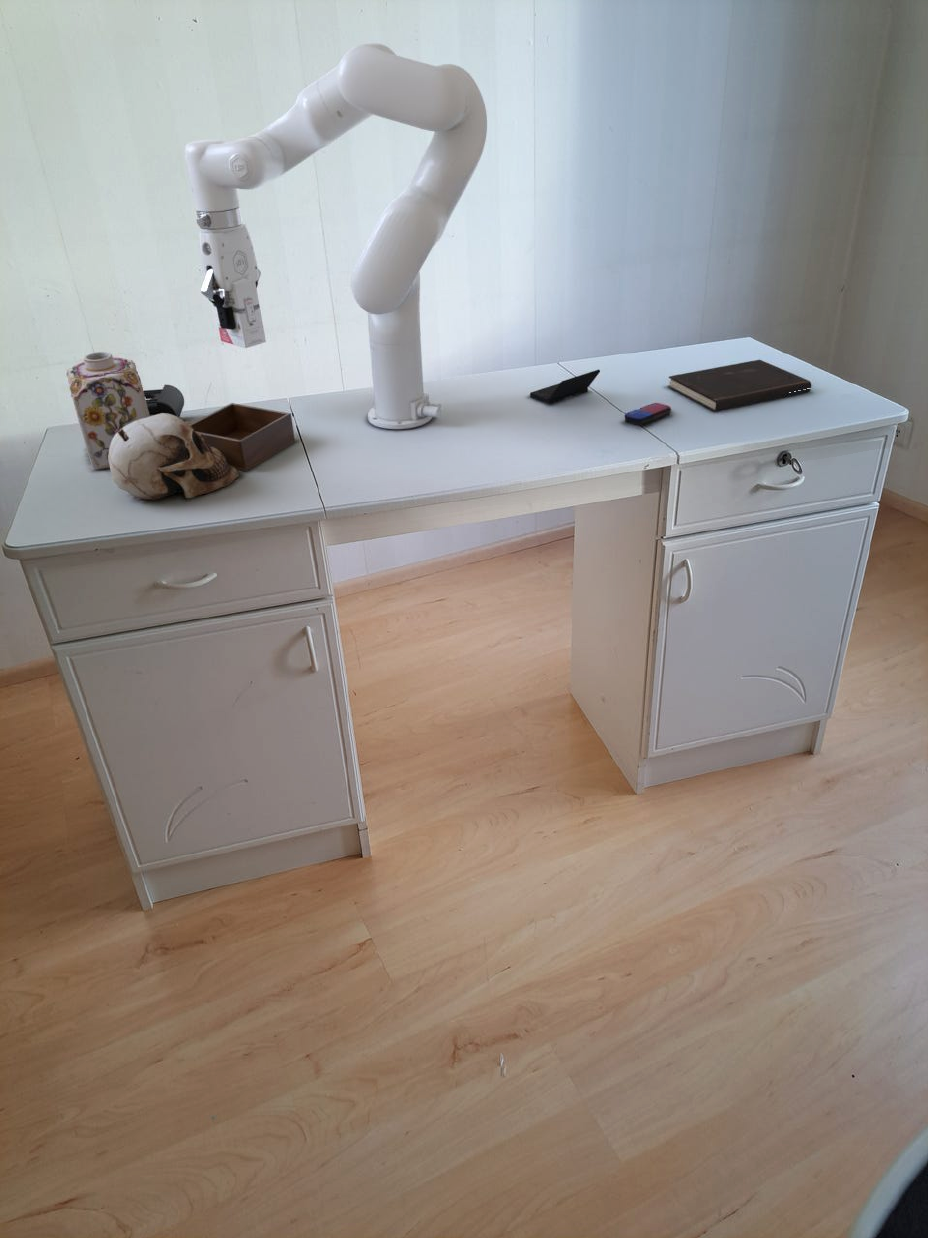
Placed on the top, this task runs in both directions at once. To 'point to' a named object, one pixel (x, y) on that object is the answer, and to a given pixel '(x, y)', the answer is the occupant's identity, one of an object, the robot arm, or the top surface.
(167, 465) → the coin bank
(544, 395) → the handheld gaming console
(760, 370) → the hardcover book
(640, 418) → the eraser
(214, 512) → the top surface
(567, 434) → the top surface
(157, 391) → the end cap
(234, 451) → the desk box
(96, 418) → the decorative jar
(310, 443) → the top surface
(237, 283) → the ink box
